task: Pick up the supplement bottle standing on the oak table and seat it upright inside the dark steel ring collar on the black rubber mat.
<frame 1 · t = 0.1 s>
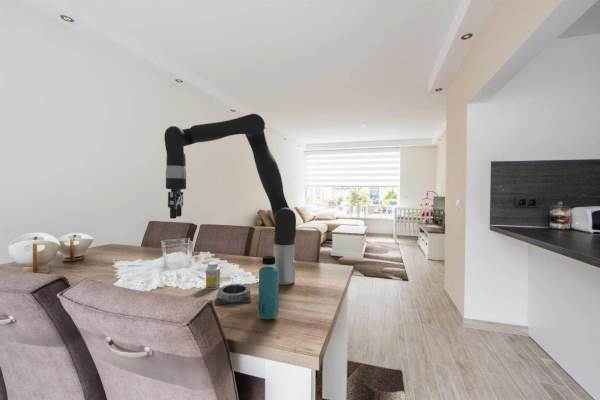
hand: (176, 217, 104), 29 cm above the table, tool pointing down, fingers open, 8 cm apart
supplement bottle: (212, 287, 107), on the table
beverage bottle: (268, 319, 81), on the table
ring seat: (234, 297, 97), on the table
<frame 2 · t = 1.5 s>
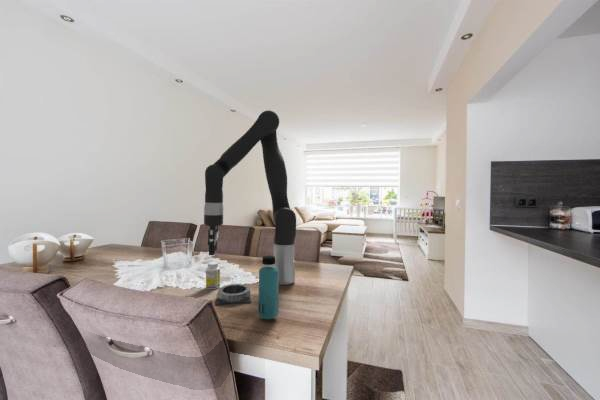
hand: (213, 252, 106), 15 cm above the table, tool pointing down, fingers open, 8 cm apart
nothing on the table moved.
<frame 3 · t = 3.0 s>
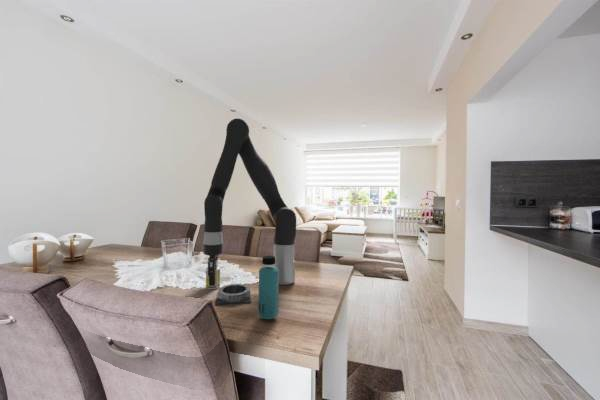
hand: (212, 282, 107), 2 cm above the table, tool pointing down, fingers closed on supplement bottle, 5 cm apart
supplement bottle: (212, 287, 107), on the table, touching gripper
everything else where it was.
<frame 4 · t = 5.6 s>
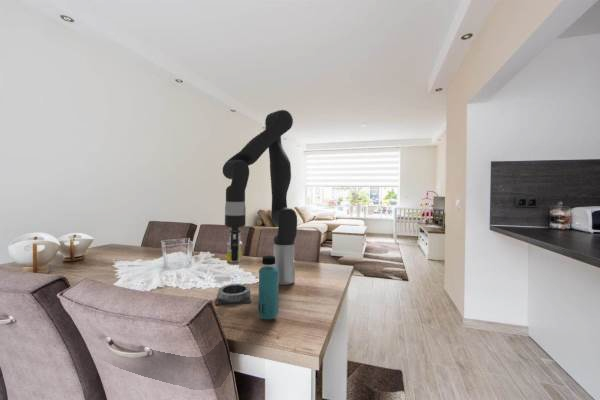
hand: (234, 258, 97), 15 cm above the table, tool pointing down, fingers closed on supplement bottle, 5 cm apart
supplement bottle: (234, 264, 97), point 13 cm above the table, touching gripper
everything else where it was.
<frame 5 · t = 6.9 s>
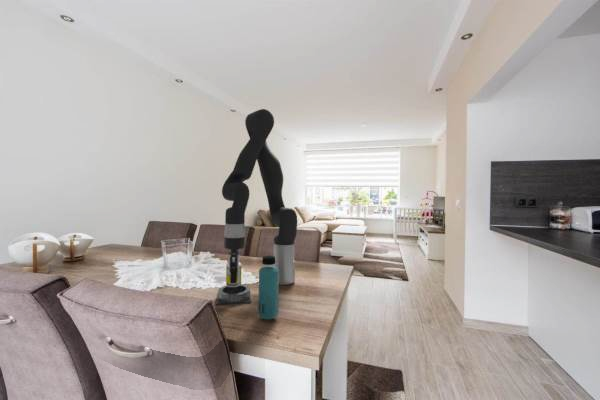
hand: (233, 279, 97), 7 cm above the table, tool pointing down, fingers closed on supplement bottle, 5 cm apart
supplement bottle: (233, 285, 97), point 4 cm above the table, touching gripper
everything else where it was.
when the fingers open (4 cm above the table, at t = 8.0 s): supplement bottle drops 1 cm, resting on ring seat.
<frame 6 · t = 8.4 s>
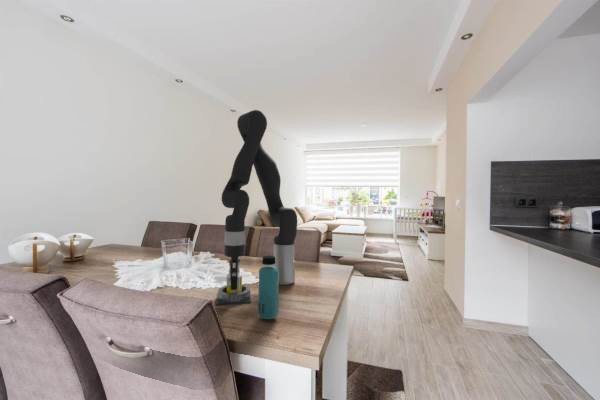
hand: (234, 285, 97), 5 cm above the table, tool pointing down, fingers open, 8 cm apart
supplement bottle: (234, 296, 97), resting on ring seat
everything else where it was.
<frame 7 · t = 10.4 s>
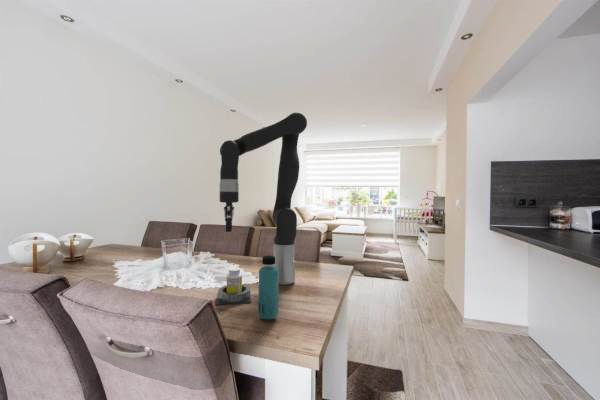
hand: (229, 230, 105), 24 cm above the table, tool pointing down, fingers open, 8 cm apart
nothing on the table moved.
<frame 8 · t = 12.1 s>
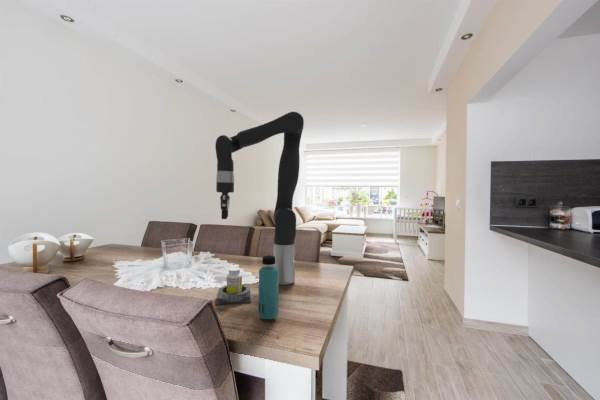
hand: (224, 218, 115), 28 cm above the table, tool pointing down, fingers open, 8 cm apart
nothing on the table moved.
at the end: supplement bottle 0.2 cm from the ring seat (horizontally); supplement bottle tilted 0°; the gripper is holding nothing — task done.
